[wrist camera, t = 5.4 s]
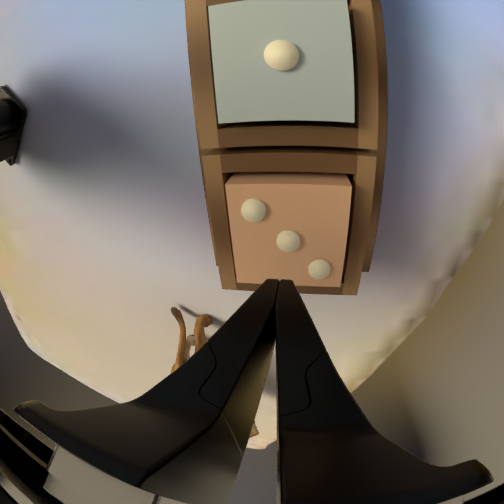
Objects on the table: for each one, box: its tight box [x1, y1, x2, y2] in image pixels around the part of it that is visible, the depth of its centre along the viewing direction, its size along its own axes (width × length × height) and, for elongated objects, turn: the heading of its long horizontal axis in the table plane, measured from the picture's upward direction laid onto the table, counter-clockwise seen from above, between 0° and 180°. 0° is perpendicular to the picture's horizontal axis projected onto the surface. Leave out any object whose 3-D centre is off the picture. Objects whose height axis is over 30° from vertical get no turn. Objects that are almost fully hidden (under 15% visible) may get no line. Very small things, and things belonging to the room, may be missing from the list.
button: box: [208, 0, 354, 124], centre depth 8 cm, size 5×5×2 cm
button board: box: [185, 0, 388, 295], centre depth 10 cm, size 24×10×5 cm, turn 4°
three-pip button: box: [225, 172, 352, 287], centre depth 12 cm, size 5×5×2 cm
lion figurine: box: [171, 307, 259, 438], centre depth 23 cm, size 15×5×9 cm, turn 29°
